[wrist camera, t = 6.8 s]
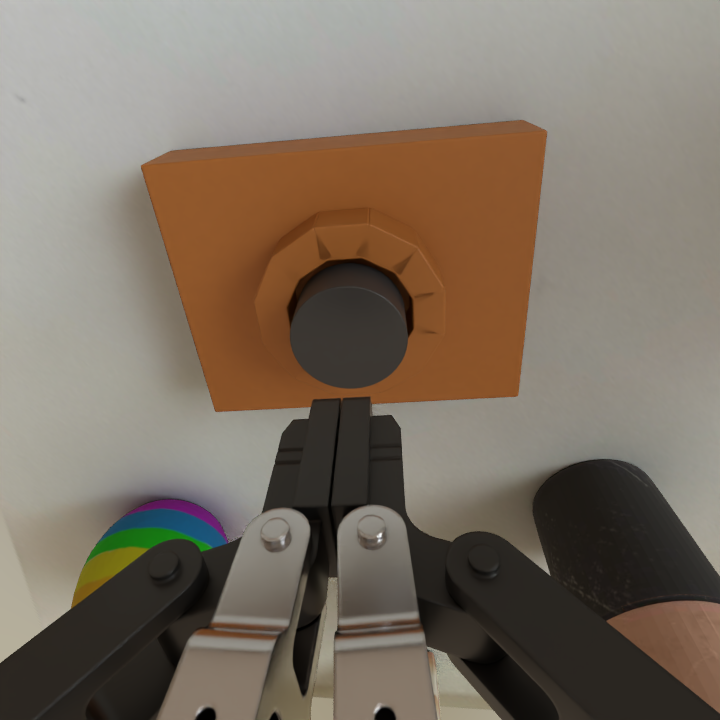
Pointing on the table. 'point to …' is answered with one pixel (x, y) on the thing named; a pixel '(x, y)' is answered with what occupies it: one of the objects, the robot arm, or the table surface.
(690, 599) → the travel mug
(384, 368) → the grey push button
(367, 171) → the orange button base
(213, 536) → the decorative egg
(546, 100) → the table surface
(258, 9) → the table surface
